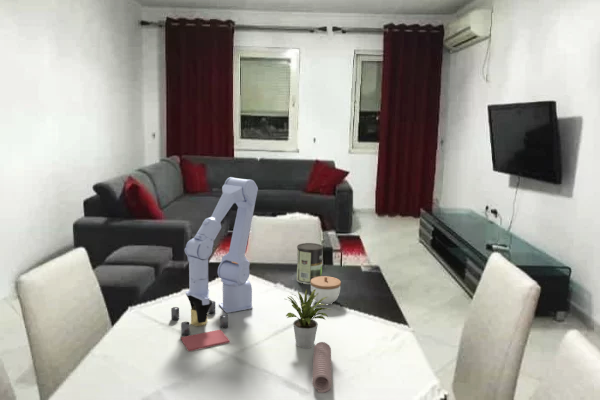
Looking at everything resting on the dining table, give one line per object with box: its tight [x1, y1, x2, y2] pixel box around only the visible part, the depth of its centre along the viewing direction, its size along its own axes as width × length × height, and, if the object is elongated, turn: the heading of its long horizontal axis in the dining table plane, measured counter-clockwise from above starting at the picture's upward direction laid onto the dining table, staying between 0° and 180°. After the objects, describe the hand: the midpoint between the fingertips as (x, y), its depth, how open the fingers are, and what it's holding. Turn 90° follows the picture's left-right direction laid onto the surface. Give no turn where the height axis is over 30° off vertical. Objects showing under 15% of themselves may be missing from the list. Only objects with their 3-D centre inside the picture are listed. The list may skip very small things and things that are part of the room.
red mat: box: [180, 328, 231, 352], centre depth 138 cm, size 12×8×1 cm, turn 119°
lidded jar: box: [310, 275, 342, 305], centre depth 168 cm, size 11×11×9 cm
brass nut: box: [190, 306, 208, 327], centre depth 149 cm, size 5×4×5 cm
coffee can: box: [296, 242, 324, 285], centre depth 190 cm, size 10×10×14 cm
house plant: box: [285, 288, 332, 349], centre depth 135 cm, size 14×14×16 cm
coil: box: [311, 341, 333, 394], centre depth 122 cm, size 5×5×18 cm
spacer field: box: [170, 300, 229, 337], centre depth 149 cm, size 14×14×4 cm
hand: (199, 318), depth 149 cm, fingers open, 5 cm apart
